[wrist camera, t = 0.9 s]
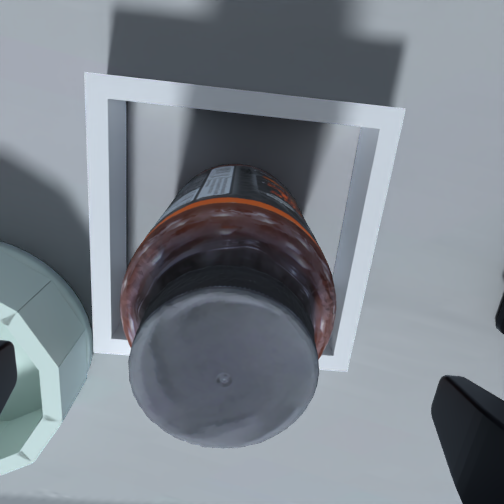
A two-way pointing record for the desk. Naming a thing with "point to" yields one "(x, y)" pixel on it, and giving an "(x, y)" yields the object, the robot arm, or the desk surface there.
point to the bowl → (39, 354)
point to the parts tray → (245, 102)
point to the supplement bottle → (227, 311)
